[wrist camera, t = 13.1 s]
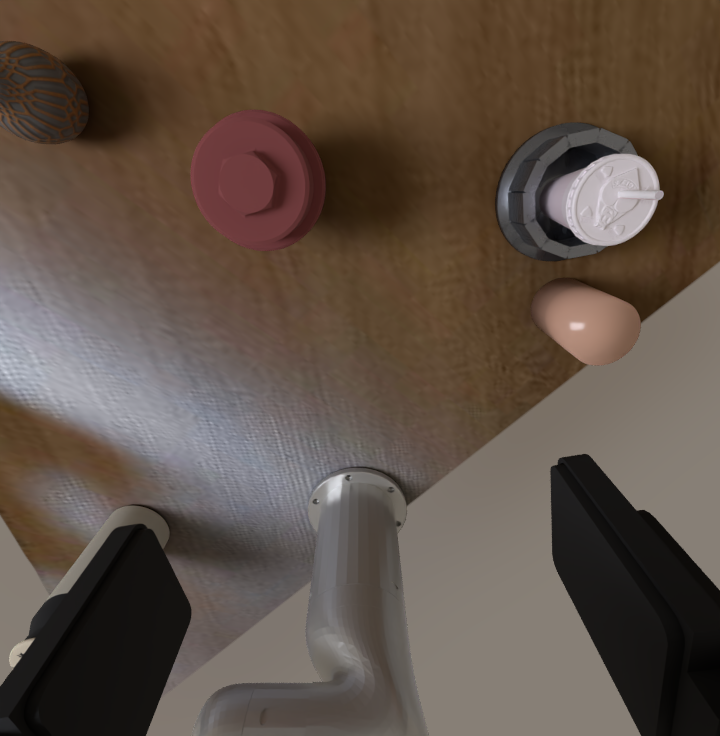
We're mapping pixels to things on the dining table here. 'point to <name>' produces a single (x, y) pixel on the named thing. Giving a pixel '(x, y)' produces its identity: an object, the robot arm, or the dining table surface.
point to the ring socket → (531, 174)
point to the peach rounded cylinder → (586, 321)
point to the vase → (39, 95)
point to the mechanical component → (258, 180)
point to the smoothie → (604, 199)
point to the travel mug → (117, 519)
